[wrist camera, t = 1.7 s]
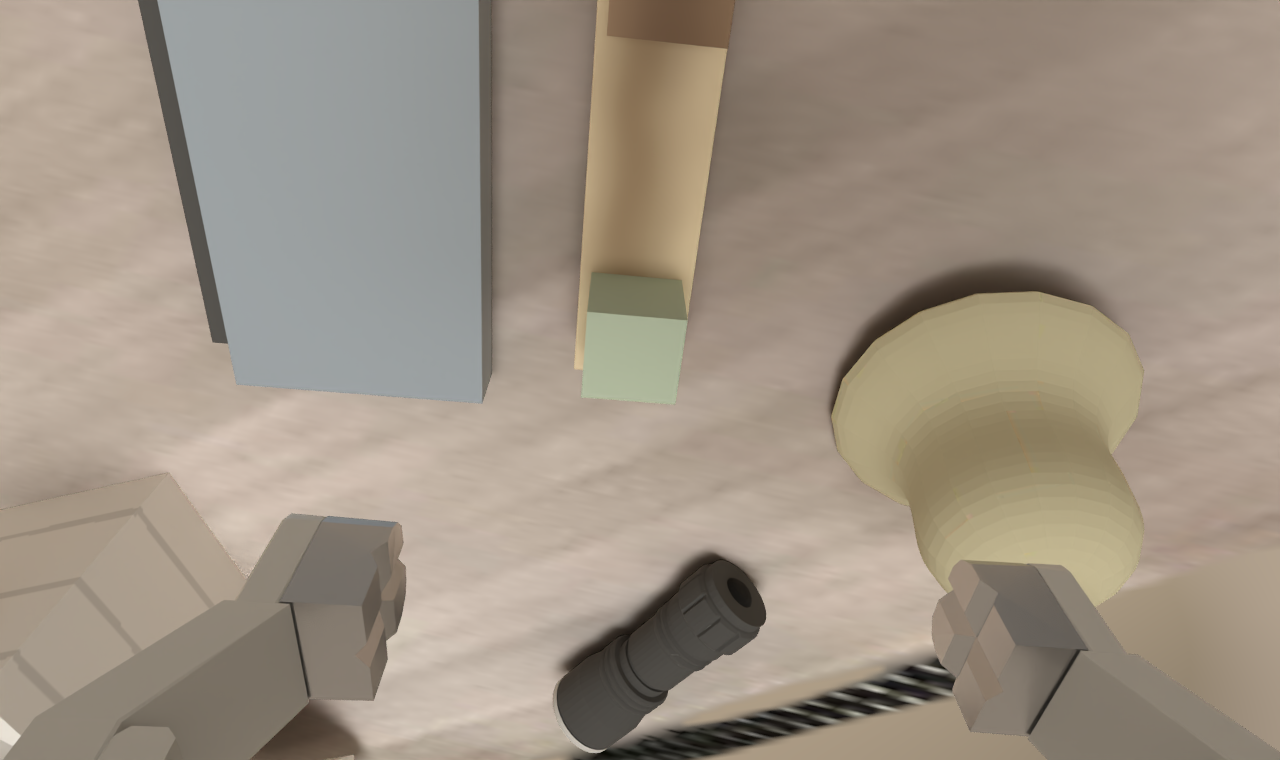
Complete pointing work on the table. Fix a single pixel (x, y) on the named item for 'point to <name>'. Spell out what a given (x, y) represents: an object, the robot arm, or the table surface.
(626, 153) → the pallet
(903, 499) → the handbell
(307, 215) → the dock
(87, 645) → the pizza boxes
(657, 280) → the block
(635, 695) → the flashlight
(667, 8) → the block
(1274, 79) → the table surface
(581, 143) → the table surface
